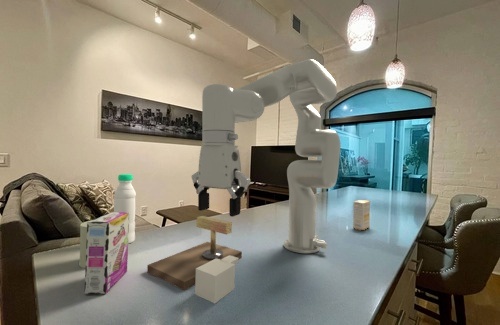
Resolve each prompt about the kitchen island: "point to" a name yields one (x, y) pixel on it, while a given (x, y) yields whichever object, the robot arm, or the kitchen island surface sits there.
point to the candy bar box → (106, 252)
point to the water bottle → (126, 202)
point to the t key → (214, 234)
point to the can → (83, 244)
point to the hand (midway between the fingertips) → (218, 212)
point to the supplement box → (361, 214)
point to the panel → (186, 265)
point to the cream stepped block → (216, 278)
